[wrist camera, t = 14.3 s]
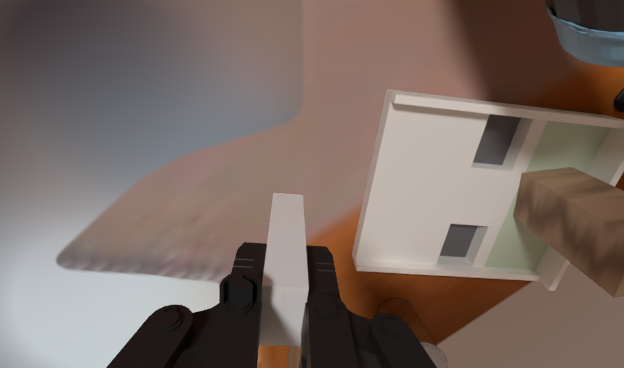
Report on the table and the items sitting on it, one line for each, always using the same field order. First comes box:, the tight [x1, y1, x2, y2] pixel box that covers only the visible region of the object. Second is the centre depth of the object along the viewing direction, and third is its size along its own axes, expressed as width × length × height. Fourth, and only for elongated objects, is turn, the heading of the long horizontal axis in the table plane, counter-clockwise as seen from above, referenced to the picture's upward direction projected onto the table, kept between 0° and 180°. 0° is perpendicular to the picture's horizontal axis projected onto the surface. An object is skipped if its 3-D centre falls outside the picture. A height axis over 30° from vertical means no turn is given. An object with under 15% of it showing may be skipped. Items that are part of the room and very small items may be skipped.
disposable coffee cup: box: [377, 298, 447, 368], centre depth 51 cm, size 10×10×12 cm
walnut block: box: [513, 167, 624, 297], centre depth 37 cm, size 7×7×16 cm
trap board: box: [352, 89, 624, 291], centre depth 44 cm, size 31×26×6 cm
